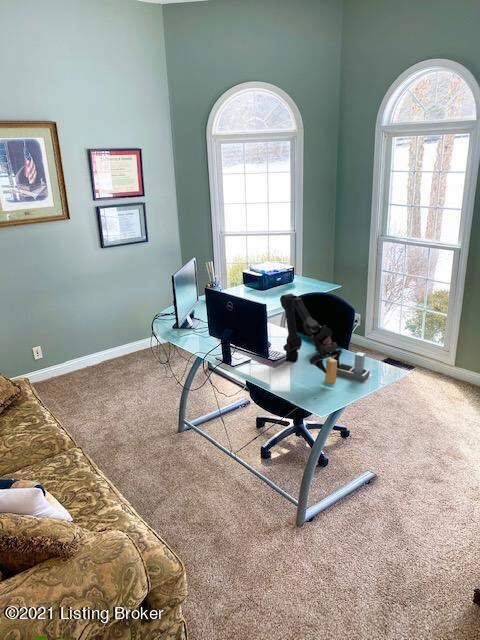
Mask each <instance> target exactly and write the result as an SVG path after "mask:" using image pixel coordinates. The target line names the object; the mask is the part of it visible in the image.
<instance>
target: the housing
mask: <svg viewBox="0 0 480 640" xmlns="http://www.w3.org/2000/svg"><path fill="white" fill-rule="evenodd" d="M339 363H340V369H338V368H337V372H336V377H341V378H344V379H348V380H351V381H355V382H359V383H362V384H366V383H367V382H368V381H369V379H370V378H372V377H373V374H372V373H370V371H371V370H370V369H369V368H364V372H363V375H360V374H357V373H354V365H353V364H352V365H351V364H347V363H344V362H339Z"/></svg>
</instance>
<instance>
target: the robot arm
mask: <svg viewBox="0 0 480 640" xmlns="http://www.w3.org/2000/svg"><path fill="white" fill-rule="evenodd" d="M279 302H280V306H281V307H282V308H283V310H284V312H285V321H286V326H287V336H286V344H284V345H283V351H285V361H286V362H295V363H297V361H298V359H299V351H300V350H301V348H302V345H303V340H302V336H300V335H299V334H298V332H297V324H296V317H295V311H294V310H296V312H297V314H298V316H299V317H300V319H301V321H302V323H303V330H304V331H305V334H306V335H308V336H310V338H309V340H308V341H309V342H312V344H313V345H314V347H315V348H314V351H315V352H317V354H315V355H313V356H312V357H311V358H309V363H310V365H312V366H315V367H316V368H318V369H320V371H321V372H323V373H324V374H325V373H327V371H326V366H325V365H324V362H323V360H324V359H329V358H333V359H335V360H337V368H338V369H340V363H341V362H340V358H341V357H340V356H342V354H343V351H342V349H340V348H338V344H337V343H336V341H335V342H331V344H330V345H328V344H327V343H326V344H325V342H324V341H325V340H327V339H328V338H329V337H330V338H331V337H332V336H333V331H332V330H333V329H331V328H329V327H328V326H327V325H326V324H325V325H322V326H321V325H319V323H318V322H317V320H315V319H314V318H312V317H311V315H310V313H309V311H308V309H307V307H306V306H305V304H304V303H303V299H302V298H301V297H299V296H298V295H295V294H293V293H288V294H283V295H281V296H280V298H279ZM298 350H299V351H298Z"/></svg>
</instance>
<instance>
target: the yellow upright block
mask: <svg viewBox="0 0 480 640" xmlns="http://www.w3.org/2000/svg"><path fill="white" fill-rule="evenodd" d="M325 361H326V362H325V369H326V371H327V373H324V374H325V375H324V377H325V378H324V381H325V383H328V384H334V383H336V381H337V376H336V372H337V360H335V359H333V358H332V357H329V358H326V360H325Z"/></svg>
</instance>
